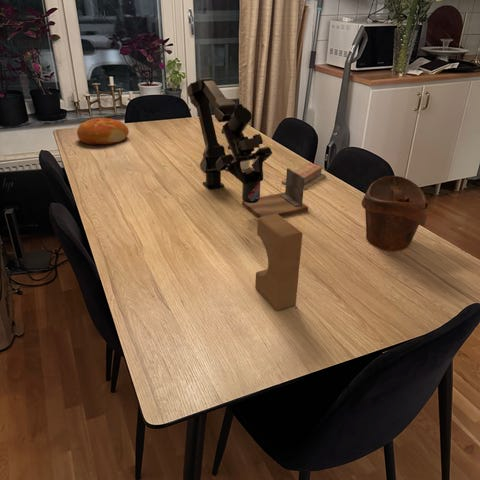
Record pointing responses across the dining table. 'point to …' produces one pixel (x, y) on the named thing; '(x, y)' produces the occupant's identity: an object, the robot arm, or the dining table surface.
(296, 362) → the dining table surface
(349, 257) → the dining table surface
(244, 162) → the white cylindrical container
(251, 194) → the supplement container
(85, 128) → the bread
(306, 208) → the shelf board
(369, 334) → the dining table surface
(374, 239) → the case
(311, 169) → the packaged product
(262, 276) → the decorative block
